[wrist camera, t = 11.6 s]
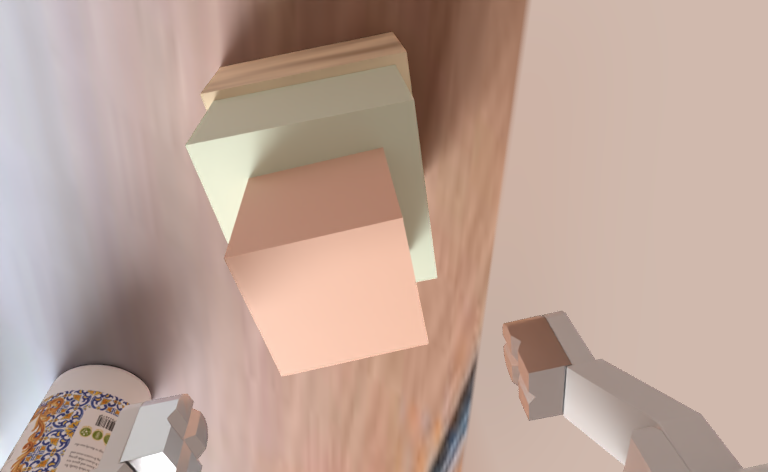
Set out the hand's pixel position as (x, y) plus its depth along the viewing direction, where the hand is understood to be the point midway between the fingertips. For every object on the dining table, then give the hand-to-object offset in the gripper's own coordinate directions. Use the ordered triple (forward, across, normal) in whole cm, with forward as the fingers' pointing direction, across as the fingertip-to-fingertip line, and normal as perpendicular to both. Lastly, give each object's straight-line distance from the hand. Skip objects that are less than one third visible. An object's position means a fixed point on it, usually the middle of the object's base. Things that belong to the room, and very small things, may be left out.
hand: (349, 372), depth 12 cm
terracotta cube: (+8, 0, 0) cm, 8 cm away
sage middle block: (+13, 0, 0) cm, 13 cm away
